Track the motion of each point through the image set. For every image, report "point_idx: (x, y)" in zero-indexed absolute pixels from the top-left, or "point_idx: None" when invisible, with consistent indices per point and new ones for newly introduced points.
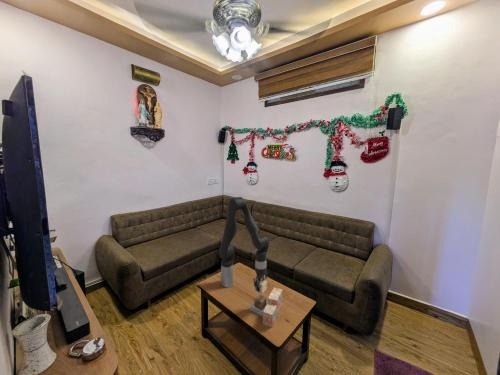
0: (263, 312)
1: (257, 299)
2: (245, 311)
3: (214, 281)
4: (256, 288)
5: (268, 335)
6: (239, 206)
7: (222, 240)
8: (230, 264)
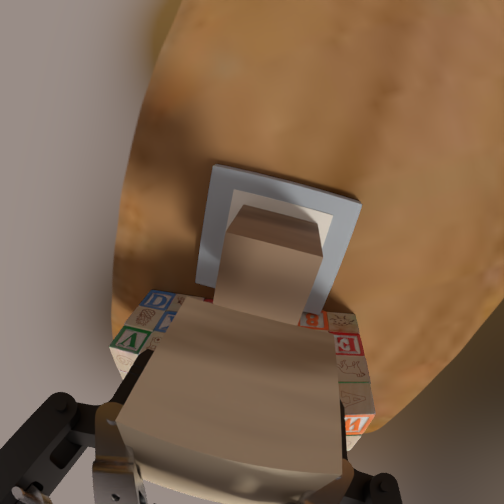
0: (112, 344)
1: (231, 264)
2: (185, 150)
3: None
4: (126, 377)
5: (118, 321)
6: None
7: None
8: None
